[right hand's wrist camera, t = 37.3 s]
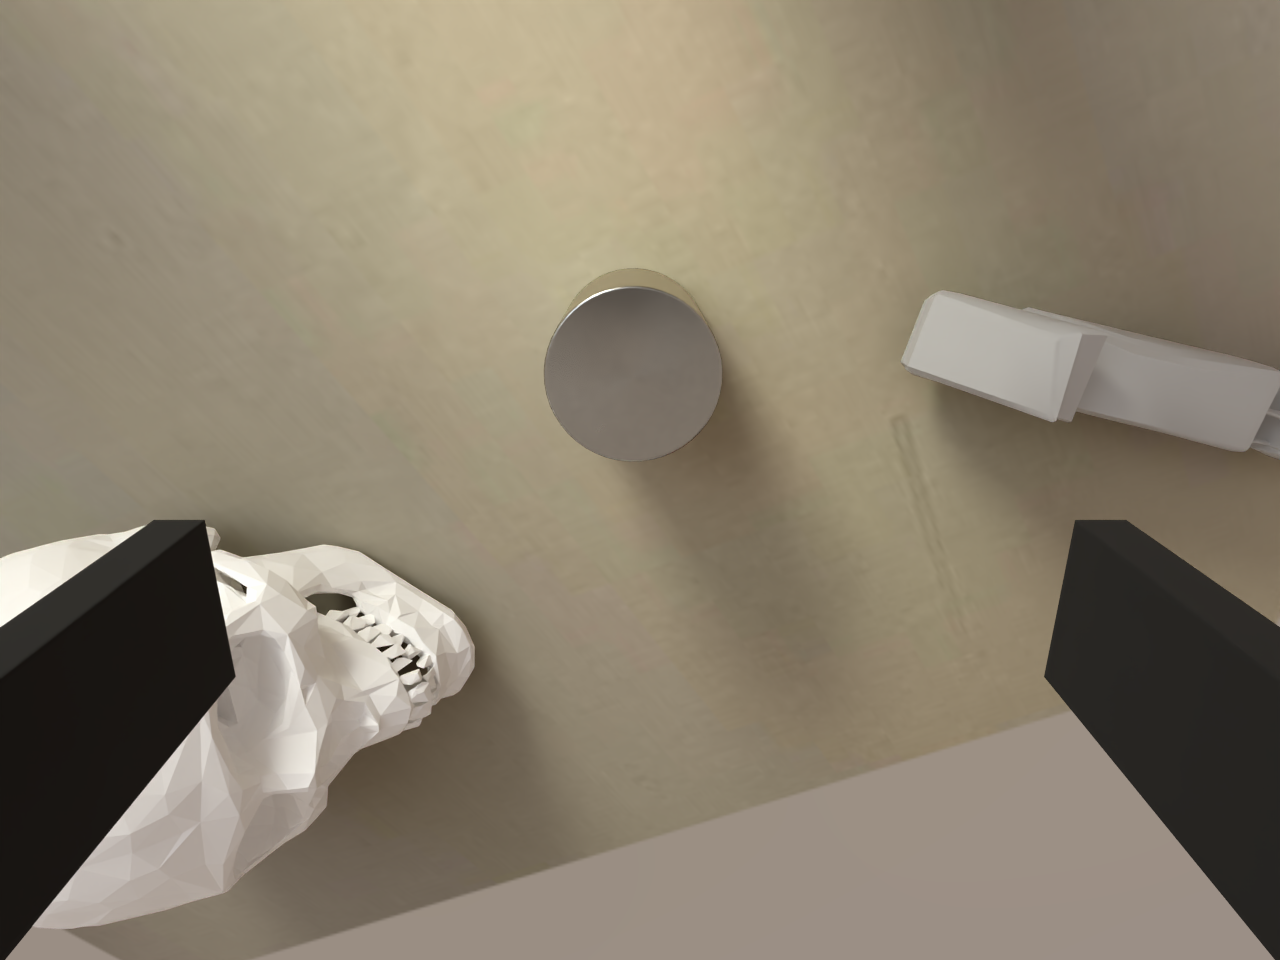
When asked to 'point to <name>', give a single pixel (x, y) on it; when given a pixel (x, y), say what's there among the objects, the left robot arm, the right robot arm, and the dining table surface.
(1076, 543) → the right robot arm
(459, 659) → the skull
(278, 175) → the dining table surface
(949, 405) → the dining table surface
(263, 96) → the dining table surface
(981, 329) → the clamp
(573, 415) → the can
